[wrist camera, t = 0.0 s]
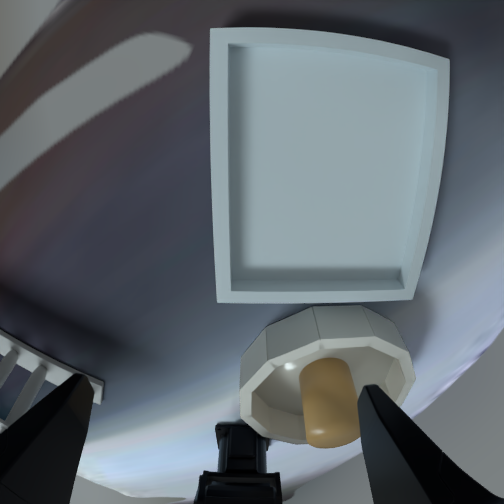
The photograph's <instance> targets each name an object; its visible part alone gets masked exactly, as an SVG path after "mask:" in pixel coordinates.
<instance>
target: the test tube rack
mask: <svg viewBox="0 0 504 504" xmlns="http://www.w3.org/2000/svg"><path fill="white" fill-rule="evenodd" d="M0 354H2V355H3V356H5V357H4V358H3V359H2V361H1V362H0V388H1V387H2V385H3V383H4V382H5V380H6V379H7V377H8V375H9V374H10V372H11V371H12V369H13V368H14V366H15V364H16V363H17V364H18V365H20V366H22V367H24V368H25V369H27V370H29V371H31V372H33V373H32V374H31V376H30V378H29V379H28V381H27V383H26V384H25V386H24V388H23V390H22V391H21V393H20V395H19V397H18V398H17V400H16V402H15V404H14V406H13V407H12V409H11V411H10V413H9V415H8V417H7V419H6V421H3V420H2V419H0V433H1V432H3V431H4V430H5V429H8V427H9V426H10V425H11V424H12V423H14V422H15V421H16V420H17V419H19V418H20V417H21V416H22V415H23V414H25V413H26V412H27V411H28V410H29V408H30V406H31V404H32V402H33V400H34V399H35V397H36V395H37V393H38V391H39V389H40V388H41V386H42V384H43V382H44V380H45V379H46V380H48V381H50V382H52V383H54V384H56V385H58V386H59V385H60V384H62V383H63V382H64V381H65V380H67V379H68V378H69V377H70V376H72V375H73V374H75V373H80V374H84V373H82V372H79V371H77V370H75V369H73V368H71V367H69V366H67V365H64V364H62V363H60V362H58V361H56V360H54V359H52V358H50V357H48V356H46V355H44V354H42V353H41V352H39V351H37V350H35V349H33V348H31V347H29V346H28V345H26V344H24V343H22V342H20V341H19V340H17V339H15V338H13V337H12V336H10V335H8V334H7V333H5V332H3V331H2V330H0ZM85 375H86V374H85ZM86 376H87V377H88V379H89V381H90V383H91V385H92V387H93V389H94V399H93V402H95V403H97V404H100V405H101V403H102V398H103V388H104V382H102V381H100V380H98V379H95V378H93V377H91V376H88V375H86Z"/></svg>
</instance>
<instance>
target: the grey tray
mask: <svg viewBox="0 0 504 504" xmlns="http://www.w3.org/2000/svg"><path fill="white" fill-rule="evenodd" d="M449 82H450V59H447V58H444V57H441V56H437V55H434V54H431V53H427V52H424V51H420V50H417V49H413V48H409V47H405V46H401V45H397V44H393V43H388V42H384V41H379V40H374V39H369V38H363V37H357V36H351V35H345V34H338V33H330V32H322V31H312V30H301V29H286V28H258V27H240V28H211V29H210V146H211V184H212V212H213V235H214V255H215V274H216V291H217V303H342V302H374V301H397V300H412V299H413V296H414V293H415V289H416V286H417V283H418V279H419V276H420V272H421V268H422V265H423V261H424V257H425V253H426V249H427V245H428V241H429V237H430V232H431V228H432V223H433V218H434V213H435V208H436V203H437V198H438V192H439V186H440V180H441V173H442V167H443V159H444V151H445V142H446V132H447V121H448V106H449Z"/></svg>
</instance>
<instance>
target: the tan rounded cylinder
mask: <svg viewBox="0 0 504 504" xmlns="http://www.w3.org/2000/svg"><path fill="white" fill-rule="evenodd" d="M299 383H300V391H301V398H302V406H303V414H304V422H305V430H306V439H307V442H308V444H309V445H311V446H313V447H316V448H335V447H340V446H343V445H346V444H349V443H351V442H353V441H355V440H356V439H358V438H359V437H360V426H359V417H358V408H357V401H358V396H357V393H356V389H355V386H354V382H353V379H352V375H351V372H350V368H349V366H348V364H347V363H346V362H345V361H343V360H341V359H338V358H322V359H318V360H316V361H313V362H311V363H309V364H308V365H307V366H305V367H304V368H303V369H302V371H301V372H300V375H299Z"/></svg>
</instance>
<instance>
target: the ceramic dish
mask: <svg viewBox="0 0 504 504" xmlns="http://www.w3.org/2000/svg"><path fill="white" fill-rule="evenodd" d="M322 358H338V359H341V360H343V361H345V362H346V363H347V364H348V366H349V368H350V372H351V375H352V379H353V382H354V386H355V389H356V393H357V396H358V398H359V396H360V393H361V391H362V388H363V386H364V385H368V384H377V385H378V386H379V387H380V388H381V389H382V390H383V391H384V392H385V393H386V394H387V395H388V396H389V397H390V398H391V399H392V400H393V401H394V402H395V403H396V404H397V405H398V406H399V407H400V406H401V405H402V404H403V402H404V400H405V398H406V396H407V395H408V393H409V391H410V389H411V387H412V385H413V383H414V381H415V379H416V376H415V372H414V369H413V365H412V361H411V357H410V354H409V351H408V349H407V347H406V345H405V343H404V341H403V339H402V337H401V335H400V333H399V332H398V330H397V328H396V326H395V324H394V322H392V321H390V320H388V319H386V318H384V317H383V316H381V315H379V314H377V313H375V312H373V311H371V310H370V309H368V308H366V307H364V306H361V305H351V306H313V308H312V307H310V308H308V309H305V310H303V311H301V312H299V313H297V314H294V315H292V316H290V317H288V318H285V319H283V320H281V321H278V322H276V323H274V324H271V325H269V326H267V327H265V329H264V330H263V331H262V332H261V333H260V335H259V336H258V337H257V338H256V340H255V341H254V342H253V343H252V344H251V346H250V347H249V348H248V349H247V350H246V352H245V353H244V354H243V355H242V356H241V367H240V390H239V392H240V417H241V419H243V420H244V421H245V422H246V423H247V424H248V425H250V426H251V427H252V428H253V429H254V430H255V431H257V432H258V433H259V434H260V435H261V436H263V437H267V438H271V439H275V440H279V441H283V442H287V443H292V444H297V445H298V444H308V442H307V439H306V430H305V422H304V414H303V406H302V398H301V391H300V383H299V375H300V372H301V371H302V369H303V368H304V367H305V366H307V365H308V364H309V363H311V362H313V361H316V360H318V359H322Z"/></svg>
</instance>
